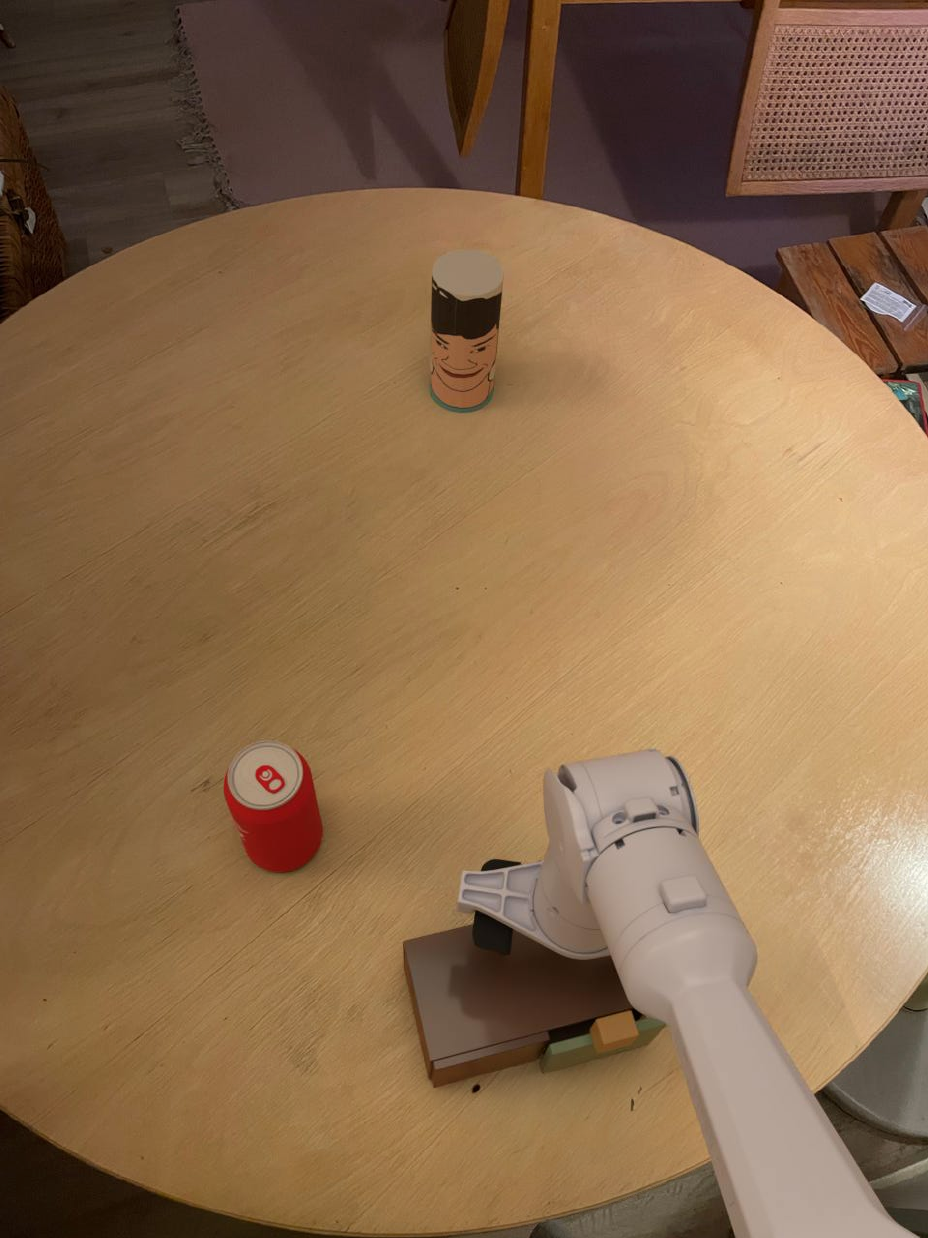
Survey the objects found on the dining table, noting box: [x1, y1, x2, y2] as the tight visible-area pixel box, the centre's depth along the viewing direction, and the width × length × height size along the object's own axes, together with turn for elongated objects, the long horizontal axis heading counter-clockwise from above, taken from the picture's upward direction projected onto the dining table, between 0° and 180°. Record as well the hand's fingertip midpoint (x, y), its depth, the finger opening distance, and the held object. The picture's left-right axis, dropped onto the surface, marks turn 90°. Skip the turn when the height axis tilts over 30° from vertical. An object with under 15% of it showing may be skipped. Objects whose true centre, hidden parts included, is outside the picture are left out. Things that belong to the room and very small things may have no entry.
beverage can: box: [223, 739, 324, 873], centre depth 77 cm, size 6×6×12 cm
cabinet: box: [402, 923, 648, 1088], centre depth 73 cm, size 9×16×7 cm, turn 104°
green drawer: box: [539, 1010, 668, 1074], centre depth 69 cm, size 2×8×10 cm, turn 104°
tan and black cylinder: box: [429, 248, 505, 413], centre depth 103 cm, size 7×7×15 cm
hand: (562, 948), depth 69 cm, fingers open, 7 cm apart
